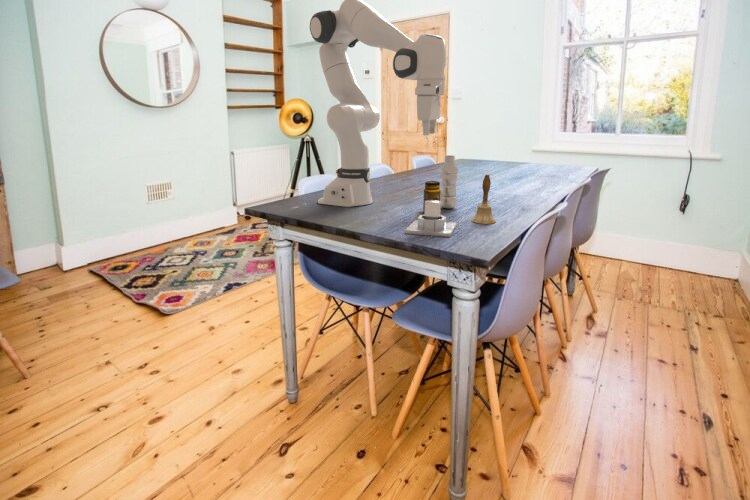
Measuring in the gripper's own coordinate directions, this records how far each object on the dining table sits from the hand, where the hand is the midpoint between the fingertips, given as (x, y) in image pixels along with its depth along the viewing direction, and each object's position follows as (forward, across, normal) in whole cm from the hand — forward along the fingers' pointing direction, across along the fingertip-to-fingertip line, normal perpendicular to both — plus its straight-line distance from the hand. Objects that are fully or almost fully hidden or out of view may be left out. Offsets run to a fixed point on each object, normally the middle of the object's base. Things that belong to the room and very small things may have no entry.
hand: (429, 134), depth 149 cm
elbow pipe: (+28, +10, +4) cm, 30 cm away
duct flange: (+29, +11, +4) cm, 31 cm away
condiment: (+29, -10, -1) cm, 31 cm away
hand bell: (+29, -5, +19) cm, 35 cm away
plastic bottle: (+29, -22, +4) cm, 37 cm away
